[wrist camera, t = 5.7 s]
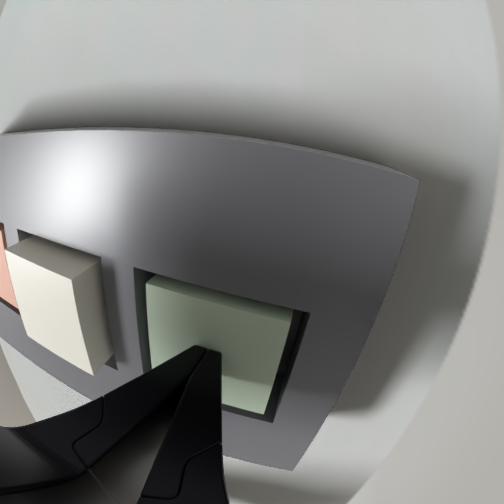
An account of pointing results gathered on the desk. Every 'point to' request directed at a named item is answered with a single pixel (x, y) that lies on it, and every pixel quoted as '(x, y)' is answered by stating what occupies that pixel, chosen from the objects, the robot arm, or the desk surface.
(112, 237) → the keyguard
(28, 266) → the cream key
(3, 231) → the terracotta key
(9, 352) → the desk surface
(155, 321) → the sage key
